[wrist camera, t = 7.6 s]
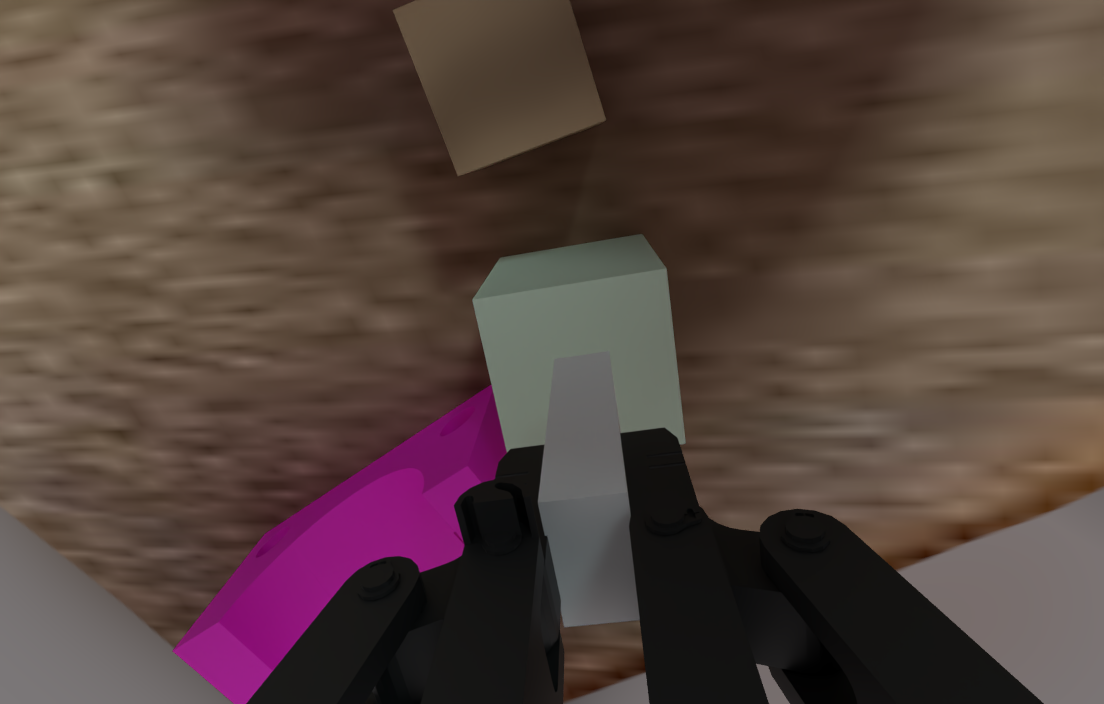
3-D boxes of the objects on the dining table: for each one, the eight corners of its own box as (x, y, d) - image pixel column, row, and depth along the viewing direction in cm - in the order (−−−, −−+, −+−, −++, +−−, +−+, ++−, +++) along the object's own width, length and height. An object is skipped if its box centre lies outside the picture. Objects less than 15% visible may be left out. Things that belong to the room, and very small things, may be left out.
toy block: (347, 611, 32) (282, 745, 25) (266, 531, 30) (172, 651, 23) (573, 477, 28) (572, 589, 21) (495, 379, 27) (467, 465, 20)
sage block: (500, 257, 25) (472, 299, 18) (642, 233, 24) (666, 268, 17) (526, 386, 27) (510, 466, 20) (658, 367, 26) (685, 443, 19)
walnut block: (432, 38, 22) (392, 10, 17) (557, -15, 21) (551, -60, 16) (481, 169, 23) (458, 176, 19) (600, 124, 23) (606, 120, 18)
